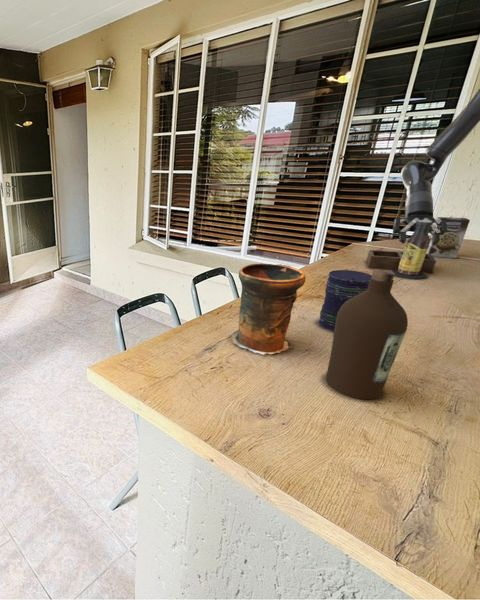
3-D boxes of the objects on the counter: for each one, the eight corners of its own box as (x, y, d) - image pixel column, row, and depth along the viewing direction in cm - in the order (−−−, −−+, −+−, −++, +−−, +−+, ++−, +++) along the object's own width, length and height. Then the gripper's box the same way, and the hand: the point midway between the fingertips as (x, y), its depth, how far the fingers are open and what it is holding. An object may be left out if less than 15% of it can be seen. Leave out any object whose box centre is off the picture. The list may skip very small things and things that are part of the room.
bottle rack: (426, 265, 140) (429, 253, 138) (432, 273, 132) (436, 260, 130) (366, 261, 150) (369, 249, 148) (368, 267, 142) (371, 256, 140)
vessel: (271, 363, 82) (284, 284, 75) (219, 341, 94) (226, 270, 86) (303, 345, 89) (318, 270, 82) (252, 326, 101) (261, 259, 93)
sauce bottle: (393, 271, 135) (407, 219, 128) (412, 271, 134) (427, 218, 127) (404, 276, 129) (420, 222, 122) (423, 276, 128) (441, 221, 121)
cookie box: (427, 256, 151) (439, 218, 145) (424, 253, 156) (436, 216, 150) (457, 258, 146) (470, 219, 140) (453, 255, 151) (466, 217, 145)
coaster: (423, 272, 133) (423, 271, 133) (428, 280, 125) (429, 279, 125) (389, 270, 138) (389, 268, 138) (392, 277, 130) (392, 276, 130)
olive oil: (313, 383, 74) (338, 272, 65) (334, 366, 80) (360, 261, 71) (373, 409, 66) (412, 285, 57) (393, 387, 72) (431, 272, 62)
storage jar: (316, 316, 104) (326, 268, 98) (356, 321, 100) (369, 271, 94) (320, 331, 96) (331, 279, 90) (365, 336, 91) (379, 283, 86)
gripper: (397, 200, 131) (397, 236, 126) (449, 199, 124) (451, 238, 119) (390, 212, 137) (390, 247, 132) (439, 212, 131) (440, 249, 126)
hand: (419, 243), depth 126 cm, fingers open, 8 cm apart
